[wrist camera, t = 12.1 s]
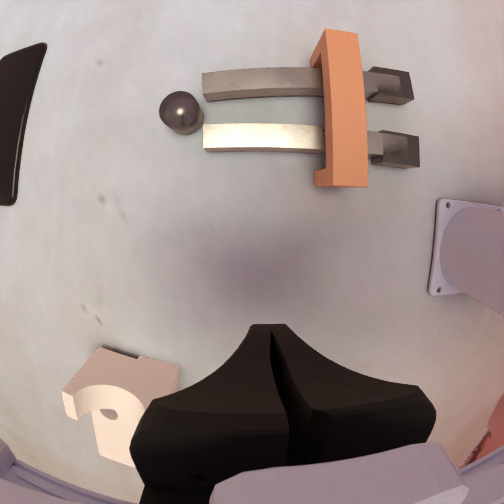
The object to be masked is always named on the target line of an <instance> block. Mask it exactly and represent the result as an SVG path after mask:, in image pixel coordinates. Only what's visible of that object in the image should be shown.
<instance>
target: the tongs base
mask: <svg viewBox="0 0 504 504" xmlns="http://www.w3.org/2000/svg"><path fill="white" fill-rule="evenodd" d="M159 115H160V118H161V120H162V121H163V122H164V123H165V124H166V125H167V126H169V127H170V128H171V129H172V130H174V131H175V132H176V133H178V134H181V135H189V134H192V133H194V132H196V131H197V130H198V129H199V128H200V127H201V125H202V123H203V120H204V115H203V111H202V109H201V108H200V106H199V104H198V103H197V101H196V99H195V98H194V97H193V96H192V95H191V94H190V93H188V92H184V91H177V92H174V93H171V94H169V95H168V96H167V97H166V98H165V99H164V100H163V101H162V103H161V105H160V108H159ZM203 148H204V149H205V150H206V151H207V152H233V151H268V152H302V153H321V154H326V138H325V126H311V125H294V124H258V123H242V124H206V125H203ZM367 149H368V157H369V158H371V164H372V165H381V166H390V167H398V168H416V167H420V157H419V137H418V136H413V135H408V134H402V133H396V132H390V131H384V130H382V131H379V132H371V131H367Z"/></svg>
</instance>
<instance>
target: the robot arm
mask: <svg viewBox="0 0 504 504" xmlns="http://www.w3.org/2000/svg"><path fill="white" fill-rule="evenodd" d="M446 203H448V207H446ZM438 288H439V290H438V291H437V289H438ZM428 293H429V294H430V295H431V296H439V295H449V294H459V293H465V294H466V295H468V296H470V297H472V298H474V299H475V300H477V301H479V302H481V303H482V304H484V305H486V306H487V307H489V308H491V309H493V310H494V311H496V312H498V313H499V314H501V315H503V316H504V207H501V206H495V205H489V204H482V203H475V202H468V201H460V200H452V199H443V198H441V199H439V200H438V202H437V216H436V231H435V242H434V252H433V260H432V268H431V275H430V282H429V288H428ZM435 421H436V410H435V408H434V406H433V404H432V403H431V402H430V400H429V399H428V398H427V397H426V395H425V394H424V393H423V391H422V390H421V389H420V388H419V387H418V386H416V385H408V384H400V383H393V382H388V381H384V380H380V379H376V378H372V377H369V376H366V375H362V374H360V373H357V372H355V371H352V370H349V369H347V368H345V367H343V366H341V365H339V364H337V363H335V362H333V361H331V360H329V359H328V358H326V357H324V356H323V355H321V354H320V353H319V352H317V351H316V350H314V349H313V348H312V347H310V346H309V345H308V344H306V343H305V342H304V341H303V340H302V339H301V338H299V337H298V336H297V335H296V334H295V333H294V332H293V331H292V330H291V329H290V328H289V327H288V326H287V325H286V324H253V325H252V326H250V329H249V331H248V333H247V335H246V337H245V339H244V340H243V342H242V343H241V344H240V346H239V347H238V349H237V350H236V351H235V352H234V353H233V355H232V356H231V357H230V358H229V359H228V360H227V361H226V362H225V363H224V364H223V365H222V366H221V367H220V368H218V369H217V370H216V371H215V372H213V373H212V374H210V375H209V376H207V377H206V378H204V379H203V380H201V381H199V382H198V383H196V384H194V385H192V386H190V387H187V388H185V389H183V390H181V391H178V392H175V393H172V394H169V395H166V396H163V397H160V398H156V399H153V400H152V401H151V403H150V404H149V406H148V408H147V409H146V410H145V412H144V414H143V415H142V417H141V419H140V421H139V423H138V425H137V428H136V430H135V432H134V435H133V437H132V439H131V443H130V447H129V451H130V455H131V458H132V460H133V462H134V465H135V467H136V469H137V471H138V473H139V475H140V477H141V479H142V481H143V483H144V485H145V486H144V490H143V493H142V496H141V500H140V503H139V504H504V445H503V446H501V447H500V448H498V449H497V450H495V451H493V452H491V453H490V454H488V455H487V456H484V457H483V458H481V459H479V460H477V461H475V462H473V463H471V464H469V465H467V466H465V467H463V468H461V469H459V470H458V469H457V468H456V466H455V465H454V463H453V462H452V460H451V459H450V457H449V455H448V454H447V452H446V451H445V449H444V448H443V447H442V446H440V445H439V444H438V443H437V442H427V443H426V441H427V439H428V437H429V435H430V433H431V431H432V429H433V427H434V424H435ZM0 504H135V503H131V502H127V501H123V500H119V499H116V498H112V497H109V496H105V495H102V494H99V493H96V492H93V491H90V490H87V489H84V488H81V487H78V486H76V485H73V484H70V483H68V482H65V481H63V480H60V479H58V478H56V477H53V476H51V475H49V474H47V473H44V472H42V471H40V470H38V469H36V468H34V467H32V466H30V465H28V464H26V463H24V462H22V461H20V460H18V459H16V457H15V455H14V454H13V452H12V450H11V449H10V448H9V446H8V445H7V444H6V443H5V442H4V441H3V440H2V439H0Z"/></svg>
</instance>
